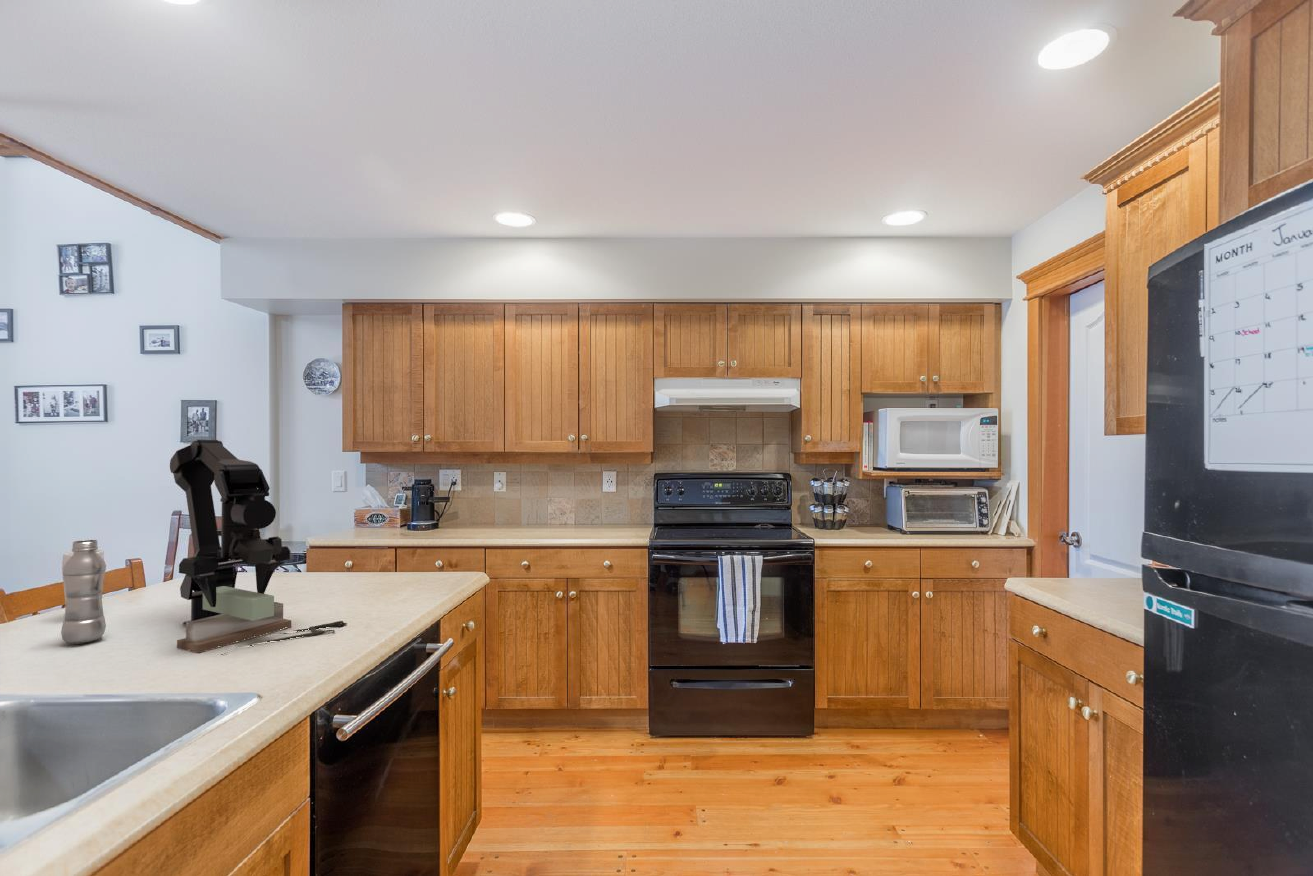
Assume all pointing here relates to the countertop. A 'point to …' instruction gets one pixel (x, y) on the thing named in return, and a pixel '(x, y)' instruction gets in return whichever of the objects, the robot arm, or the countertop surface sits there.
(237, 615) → the bar
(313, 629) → the brown tree branch
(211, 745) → the countertop surface
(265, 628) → the ridge stand
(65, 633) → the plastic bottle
